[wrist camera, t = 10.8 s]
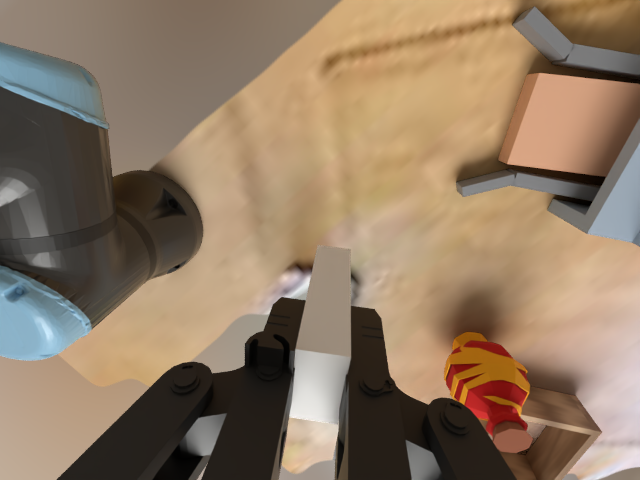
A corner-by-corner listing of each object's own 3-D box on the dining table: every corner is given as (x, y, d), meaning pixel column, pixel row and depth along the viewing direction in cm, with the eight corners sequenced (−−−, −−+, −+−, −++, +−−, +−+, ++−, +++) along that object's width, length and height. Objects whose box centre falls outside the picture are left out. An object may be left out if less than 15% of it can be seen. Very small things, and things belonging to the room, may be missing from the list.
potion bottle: (521, 335, 46) (587, 432, 33) (477, 378, 51) (520, 481, 37) (459, 306, 46) (501, 394, 32) (420, 353, 50) (443, 448, 36)
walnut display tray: (451, 442, 57) (461, 478, 52) (487, 377, 50) (503, 410, 45) (528, 459, 57) (546, 497, 52) (575, 395, 50) (602, 432, 44)
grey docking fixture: (452, 192, 39) (487, 227, 28) (517, 9, 31) (601, -39, 20) (600, 220, 39) (695, 268, 28) (705, 41, 31) (896, 8, 20)
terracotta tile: (496, 159, 38) (506, 163, 35) (524, 75, 34) (539, 72, 31) (600, 172, 37) (619, 178, 34) (641, 88, 33) (667, 87, 30)
